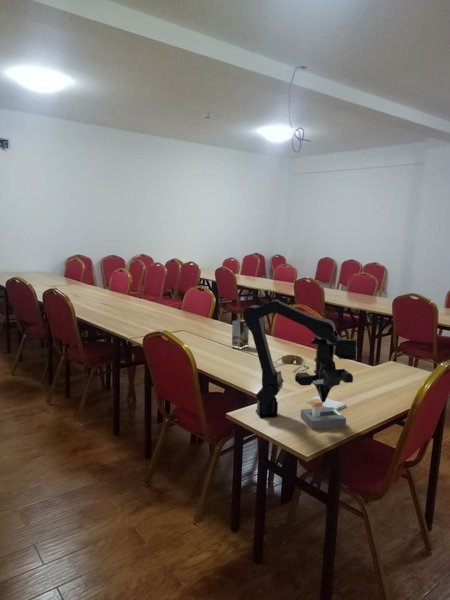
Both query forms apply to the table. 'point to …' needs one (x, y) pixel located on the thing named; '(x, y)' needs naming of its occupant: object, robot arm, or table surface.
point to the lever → (316, 407)
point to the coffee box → (240, 333)
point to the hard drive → (329, 403)
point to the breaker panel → (323, 418)
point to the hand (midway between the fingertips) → (323, 401)
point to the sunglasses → (292, 360)
